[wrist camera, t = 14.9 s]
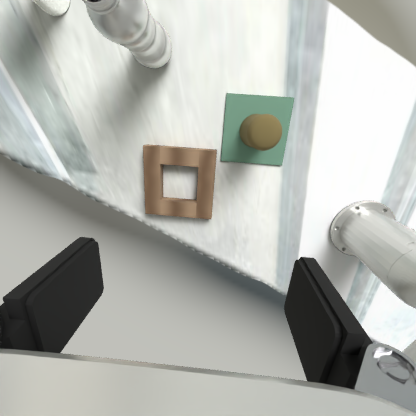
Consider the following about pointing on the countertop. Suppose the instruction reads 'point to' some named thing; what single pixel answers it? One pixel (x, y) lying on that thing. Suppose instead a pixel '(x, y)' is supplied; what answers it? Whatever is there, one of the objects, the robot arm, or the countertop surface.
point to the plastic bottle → (132, 29)
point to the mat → (242, 108)
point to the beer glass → (53, 6)
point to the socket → (181, 157)
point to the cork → (261, 131)
